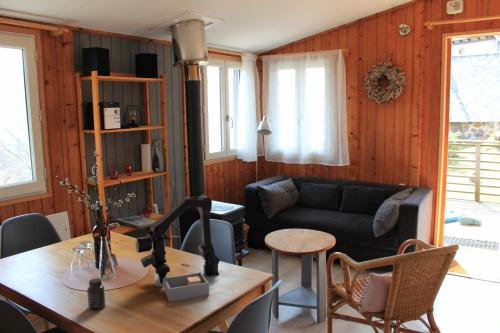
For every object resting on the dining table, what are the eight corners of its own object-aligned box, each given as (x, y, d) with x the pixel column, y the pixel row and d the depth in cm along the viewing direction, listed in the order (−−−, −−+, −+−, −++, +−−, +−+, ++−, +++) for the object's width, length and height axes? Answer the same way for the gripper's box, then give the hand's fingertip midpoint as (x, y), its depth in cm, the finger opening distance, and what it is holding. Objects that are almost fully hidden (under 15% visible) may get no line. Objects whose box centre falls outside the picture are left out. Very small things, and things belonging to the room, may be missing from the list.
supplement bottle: (90, 304, 188) (89, 277, 187) (107, 303, 189) (105, 276, 187) (86, 311, 182) (84, 284, 180) (103, 310, 182) (101, 283, 181)
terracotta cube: (198, 286, 204) (197, 276, 203) (201, 290, 199) (200, 280, 198) (187, 288, 202) (187, 277, 201) (190, 292, 197) (189, 281, 196)
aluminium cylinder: (164, 281, 212) (163, 267, 211) (166, 284, 207) (165, 270, 206) (154, 283, 210) (153, 269, 209) (156, 287, 206) (155, 272, 204)
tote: (200, 283, 209) (200, 272, 208) (209, 295, 196) (208, 282, 195) (163, 289, 202) (163, 277, 201) (169, 302, 190) (169, 289, 189)
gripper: (138, 245, 212) (140, 276, 214) (144, 257, 195) (145, 291, 197) (161, 242, 216) (163, 273, 218) (169, 254, 199) (170, 287, 201)
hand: (160, 281), depth 209 cm, fingers open, 6 cm apart
